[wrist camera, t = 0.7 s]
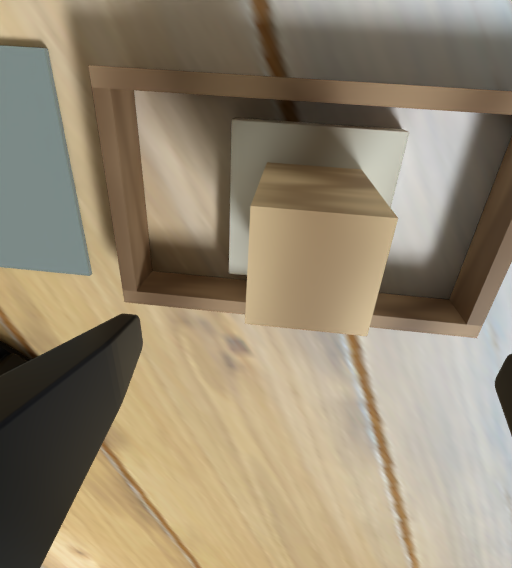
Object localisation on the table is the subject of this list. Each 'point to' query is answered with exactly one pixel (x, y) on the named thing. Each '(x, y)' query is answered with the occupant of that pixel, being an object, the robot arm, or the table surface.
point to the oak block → (316, 249)
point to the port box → (301, 151)
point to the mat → (36, 171)
